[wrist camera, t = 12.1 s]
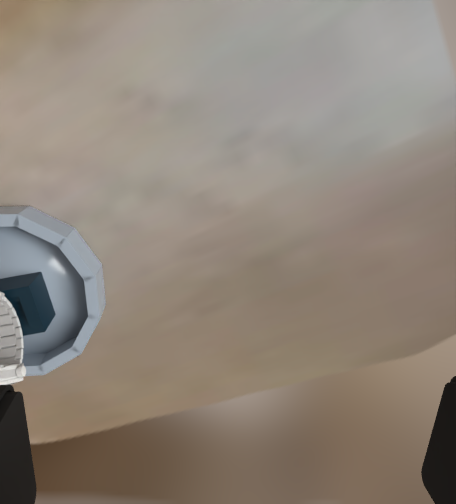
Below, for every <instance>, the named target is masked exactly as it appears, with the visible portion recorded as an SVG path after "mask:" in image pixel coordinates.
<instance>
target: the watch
mask: <svg viewBox="0 0 456 504" xmlns="http://www.w3.org/2000/svg"><path fill="white" fill-rule="evenodd" d="M55 315H56V314H55V311H54V308H53V305H52V302H51V299H50V296H49V293H48V290H47V287H46V284H45V281H44V278H43V275H42V272H36V273H30V274H25V275H19V276H13V277H8V278H2V279H0V385H11V384H14V383H17V382H20V381H22V380H23V377H24V376H25V375H26V368H25V366H24V363H22V359H23V348H24V345H23V338H21V337H23V336H26V335H31V334H37V333H42V332H45V331H46V330H47V328H48V326H49V325H50V323H51V321H52V320H53V318H54V317H55ZM13 346H14V347H13ZM7 347H8V348H7ZM2 348H3V349H2Z"/></svg>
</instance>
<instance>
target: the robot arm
mask: <svg viewBox="0 0 456 504" xmlns="http://www.w3.org/2000/svg"><path fill="white" fill-rule="evenodd" d="M421 473H422V480H423V483H424V486H425V488H426V489H427V491H428V493H429V494H430V496H431V498H432V499H433V501H434V503H435V504H456V376H455V377H453V378H452V379H451V382H450V383H447V384H446V385H445V387H444V391H443V395H442V398H441V402H440V405H439V409H438V412H437V416H436V420H435V423H434V427H433V430H432V434H431V438H430V441H429V445H428V448H427V452H426V456H425V459H424V463H423V466H422V472H421ZM35 498H36V482H35V475H34V468H33V462H32V455H31V448H30V441H29V434H28V428H27V421H26V414H25V408H24V401H23V396H22V393H21V392H14V388H13V387H12V385H0V504H34V503H35Z"/></svg>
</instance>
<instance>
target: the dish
mask: <svg viewBox="0 0 456 504" xmlns="http://www.w3.org/2000/svg"><path fill="white" fill-rule="evenodd" d="M36 272H42V275H43V278H44V281H45V284H46V287H47V290H48V293H49V296H50V299H51V302H52V305H53V308H54V311H55V314H56V315H55V317H54V318H53V320H52V321H51V323H50V325H49V326H48V328H47V330H46V331H45V332H42V333H37V334H31V335H26V336H23V337H21V338H23V345H24V348H23V359H22V363H24V366H25V368H26V375H25V376H33V375H45V374H47V373H48V372H50V371H52V370H54V369H55V368H57V367H59V366H61V365H63V364H64V363H66V362H68V361H70V360H71V359H73V358H75V357H77V356H78V355H80V354H81V353H82V351H83V350H84V348H85V346H86V344H87V342H88V340H89V339H90V337H91V335H92V333H93V331H94V329H95V327H96V326H97V324H98V322H99V320H100V318H101V316H102V313H103V310H104V308H105V305H106V300H105V290H104V280H103V270H102V264H101V262H100V261H99V260H98V258H97V257H96V256H95V254H94V253H93V252H92V250H91V249H90V248H89V246H88V245H87V244H86V242H85V241H84V240H83V238H82V237H81V236H80V234H79V233H78V232H77V230H76V229H75V228H74V227H72V226H70V225H68V224H66V223H64V222H62V221H60V220H58V219H56V218H54V217H52V216H50V215H47V214H45V213H43V212H41V211H39V210H37V209H35V208H33V207H31V206H0V279H2V278H8V277H13V276H19V275H25V274H30V273H36ZM13 347H14V346H13ZM7 348H8V347H7ZM2 349H3V348H2Z"/></svg>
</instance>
